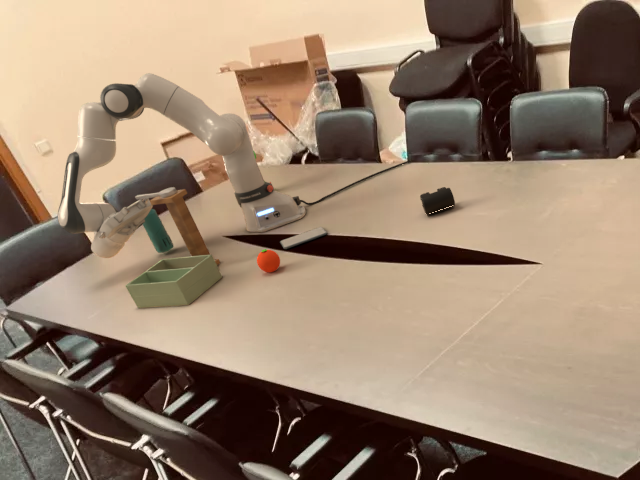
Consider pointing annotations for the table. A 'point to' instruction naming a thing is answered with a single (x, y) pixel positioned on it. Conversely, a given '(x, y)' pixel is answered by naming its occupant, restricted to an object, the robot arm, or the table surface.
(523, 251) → the table surface
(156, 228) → the beverage bottle
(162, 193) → the spoon
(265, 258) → the clementine
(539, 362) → the table surface
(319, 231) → the smartphone
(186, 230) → the oak stand
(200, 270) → the cutlery tray
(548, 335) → the table surface
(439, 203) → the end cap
